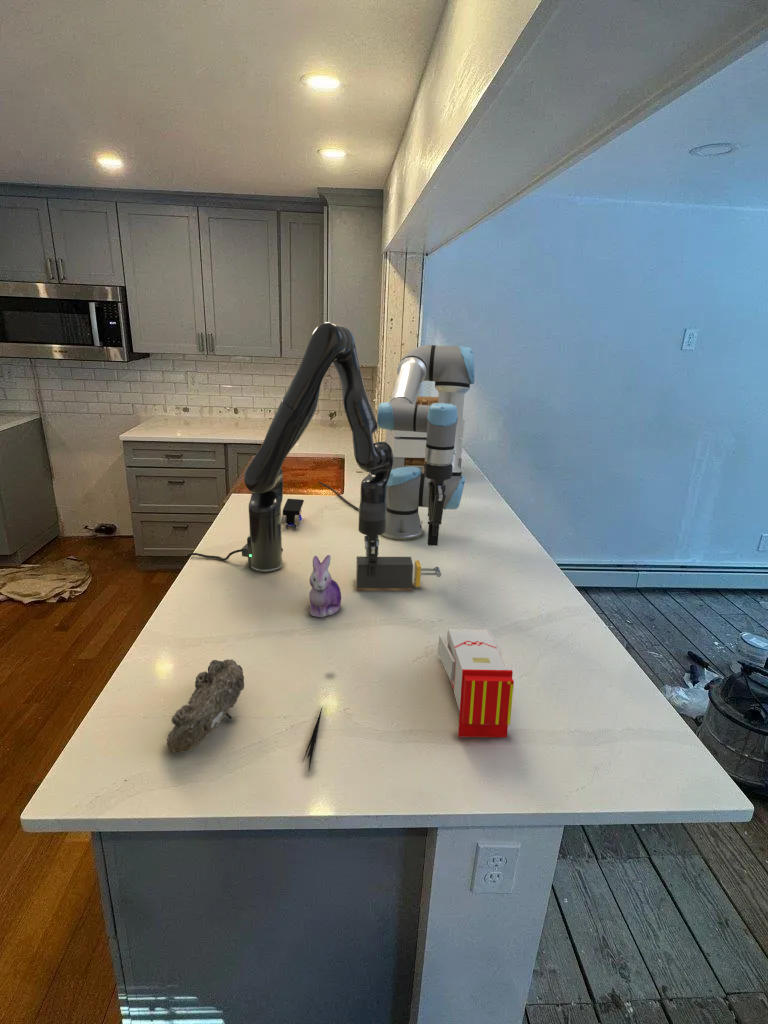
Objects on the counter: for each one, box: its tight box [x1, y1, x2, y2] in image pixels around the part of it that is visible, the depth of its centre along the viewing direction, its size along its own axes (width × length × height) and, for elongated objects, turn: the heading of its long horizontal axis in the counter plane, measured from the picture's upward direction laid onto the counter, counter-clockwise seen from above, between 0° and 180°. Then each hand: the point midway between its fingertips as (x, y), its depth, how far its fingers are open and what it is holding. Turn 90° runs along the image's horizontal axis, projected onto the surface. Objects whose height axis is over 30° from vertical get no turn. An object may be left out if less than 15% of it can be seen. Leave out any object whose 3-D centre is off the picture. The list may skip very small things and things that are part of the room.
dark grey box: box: [355, 555, 414, 592], centre depth 161 cm, size 16×6×8 cm, turn 95°
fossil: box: [166, 658, 245, 754], centre depth 106 cm, size 22×10×15 cm
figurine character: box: [281, 498, 305, 530], centre depth 203 cm, size 7×8×15 cm
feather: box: [301, 673, 332, 771], centre depth 108 cm, size 2×28×2 cm
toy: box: [437, 628, 515, 738], centre depth 117 cm, size 12×13×30 cm
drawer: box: [413, 559, 442, 588], centre depth 161 cm, size 20×4×6 cm, turn 95°
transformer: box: [384, 396, 465, 470], centre depth 268 cm, size 34×33×41 cm
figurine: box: [308, 554, 342, 618], centre depth 145 cm, size 9×10×15 cm
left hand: (370, 571), depth 160 cm, fingers closed on dark grey box, 5 cm apart
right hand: (432, 544), depth 159 cm, fingers closed
